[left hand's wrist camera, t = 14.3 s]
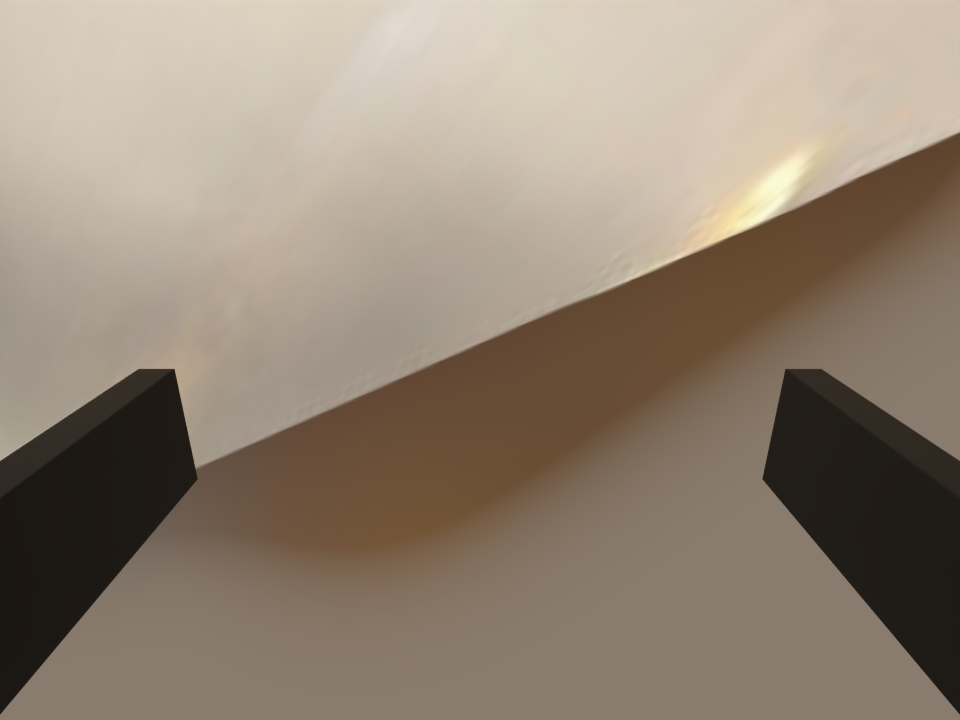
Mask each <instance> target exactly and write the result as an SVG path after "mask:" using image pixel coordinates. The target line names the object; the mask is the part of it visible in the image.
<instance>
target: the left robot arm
mask: <svg viewBox="0 0 960 720" xmlns="http://www.w3.org/2000/svg"><path fill="white" fill-rule="evenodd" d="M196 480H197V474H196V469H195V465H194V460H193V455H192V450H191V446H190V441H189V436H188V431H187V427H186V422H185V417H184V412H183V407H182V403H181V398H180V393H179V388H178V384H177V379H176V374H175V369H138V370H137V371H135V372H134V373H132V374H131V375H129V376H128V377H126V378H125V379H123V380H122V381H120V382H119V383H117V384H116V385H114V386H113V387H111V388H110V389H108V390H107V391H105V392H104V393H102V394H101V395H99V396H98V397H96V398H95V399H93V400H92V401H90V402H88V403H87V404H85V405H84V406H82V407H81V408H79V409H78V410H76V411H75V412H73V413H72V414H70V415H69V416H67V417H66V418H64V419H63V420H61V421H60V422H58V423H57V424H55V425H54V426H52V427H51V428H49V429H48V430H46V431H45V432H43V433H42V434H40V435H39V436H37V437H36V438H34V439H33V440H31V441H30V442H28V443H27V444H25V445H24V446H22V447H21V448H19V449H18V450H16V451H15V452H13V453H12V454H10V455H9V456H7V457H6V458H4V459H3V460H1V461H0V714H1V713H2V712H3V710H4V709H5V708H6V707H7V706H8V704H9V703H10V702H11V701H12V700H13V699H14V697H15V696H16V695H17V694H18V693H19V691H20V690H21V689H22V688H23V687H24V685H25V684H26V683H27V682H28V681H29V679H30V678H31V677H32V676H33V675H34V673H35V672H36V671H37V670H38V669H39V668H40V666H41V665H42V664H43V663H44V662H45V660H46V659H47V658H48V657H49V656H50V654H51V653H52V652H53V651H54V650H55V648H56V647H57V646H58V645H59V644H60V643H61V641H62V640H63V639H64V638H65V636H66V635H67V634H68V633H69V632H70V631H71V629H72V628H73V627H74V626H75V625H76V623H77V622H78V621H79V620H80V619H81V617H82V616H83V615H84V614H85V613H86V612H87V610H88V609H89V608H90V607H91V605H92V604H93V603H94V602H95V601H96V600H97V598H98V597H99V596H100V595H101V594H102V592H103V591H104V590H105V589H106V588H107V586H108V585H109V584H110V583H111V582H112V581H113V579H114V578H115V577H116V576H117V574H118V573H119V572H120V571H121V570H122V568H123V567H124V566H125V565H126V564H127V563H128V561H129V560H130V559H131V558H132V557H133V555H134V554H135V553H136V552H137V551H138V550H139V548H140V547H141V546H142V545H143V544H144V542H145V541H146V540H147V539H148V538H149V536H150V535H151V534H152V533H153V532H154V530H155V529H156V528H157V527H158V526H159V524H160V523H161V522H162V521H163V520H164V519H165V517H166V516H167V515H168V514H169V512H170V511H171V510H172V509H173V508H174V507H175V505H176V504H177V503H178V502H179V501H180V499H181V498H182V497H183V496H184V495H185V493H186V492H187V491H188V490H189V489H190V487H191V486H192V485H193V484H194V483H195V482H196ZM763 480H764V482H765V483H766V484H767V485H768V486H769V487H770V489H771V490H772V491H773V492H774V493H775V495H776V496H777V497H778V498H779V499H780V501H781V502H782V503H783V504H784V505H785V507H786V508H787V509H788V510H789V511H790V512H791V514H792V515H793V516H794V517H795V518H796V520H797V521H798V522H799V523H800V524H801V526H802V527H803V528H804V529H805V530H806V532H807V533H808V534H809V535H810V536H811V538H812V539H813V540H814V541H815V542H816V544H817V545H818V546H819V547H820V548H821V550H822V551H823V552H824V553H825V554H826V555H827V557H828V558H829V559H830V560H831V561H832V563H833V564H834V565H835V566H836V567H837V569H838V570H839V571H840V572H841V573H842V575H843V576H844V577H845V578H846V579H847V581H848V582H849V583H850V584H851V585H852V586H853V588H854V589H855V590H856V591H857V592H858V594H859V595H860V596H861V597H862V598H863V600H864V601H865V602H866V603H867V604H868V605H869V607H870V608H871V609H872V610H873V612H874V613H875V614H876V615H877V616H878V617H879V619H880V620H881V621H882V622H883V623H884V625H885V626H886V627H887V628H888V629H889V631H890V632H891V633H892V634H893V635H894V637H895V638H896V639H897V640H898V641H899V643H900V644H901V645H902V646H903V647H904V648H905V650H906V651H907V652H908V653H909V654H910V656H911V657H912V658H913V659H914V660H915V662H916V663H917V664H918V665H919V666H920V668H921V669H922V670H923V671H924V672H925V673H926V675H927V676H928V677H929V678H930V679H931V681H932V682H933V683H934V684H935V685H936V687H937V688H938V689H939V690H940V691H941V693H942V694H943V695H944V696H945V697H946V699H947V700H948V701H949V702H950V703H951V704H952V706H953V707H954V708H955V709H956V710H957V712H958V713H959V714H960V461H959V460H957V459H956V458H954V457H953V456H951V455H950V454H948V453H947V452H945V451H944V450H942V449H941V448H939V447H938V446H936V445H935V444H933V443H932V442H930V441H929V440H927V439H926V438H924V437H923V436H921V435H920V434H918V433H917V432H915V431H914V430H912V429H911V428H909V427H908V426H906V425H905V424H903V423H902V422H900V421H899V420H897V419H896V418H894V417H893V416H891V415H889V414H888V413H886V412H885V411H884V410H882V409H880V408H879V407H877V406H876V405H875V404H873V403H872V402H870V401H868V400H867V399H865V398H864V397H862V396H861V395H859V394H858V393H856V392H855V391H853V390H852V389H850V388H849V387H847V386H846V385H844V384H843V383H841V382H840V381H838V380H837V379H835V378H834V377H832V376H831V375H829V374H828V373H826V372H825V371H823V370H822V369H786V370H785V374H784V379H783V384H782V388H781V393H780V398H779V403H778V407H777V412H776V417H775V422H774V427H773V431H772V436H771V441H770V446H769V451H768V455H767V460H766V465H765V470H764V474H763Z"/></svg>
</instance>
